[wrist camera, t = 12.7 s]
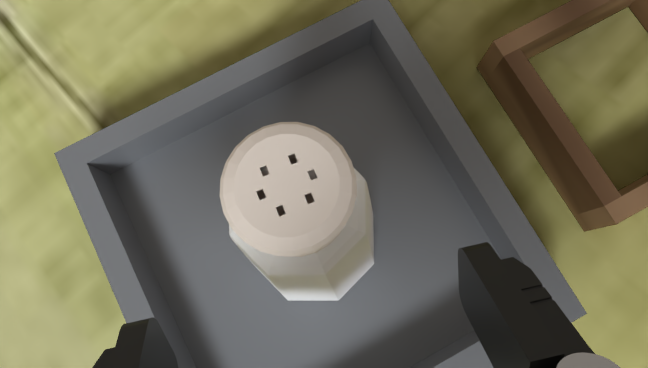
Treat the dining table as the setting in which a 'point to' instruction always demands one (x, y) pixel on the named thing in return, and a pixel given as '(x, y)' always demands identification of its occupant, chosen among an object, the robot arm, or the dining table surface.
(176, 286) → the tray
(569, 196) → the collar
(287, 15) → the dining table surface
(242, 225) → the salt shaker
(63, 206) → the dining table surface
